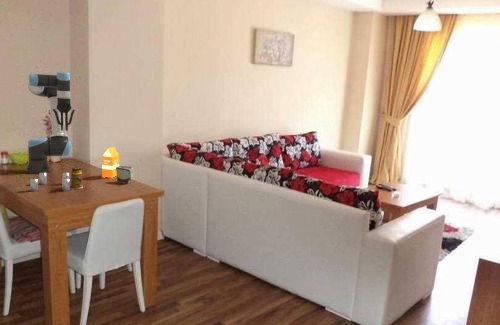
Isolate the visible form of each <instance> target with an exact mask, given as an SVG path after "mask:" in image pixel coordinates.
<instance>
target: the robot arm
mask: <svg viewBox="0 0 500 325" xmlns="http://www.w3.org/2000/svg"><path fill="white" fill-rule="evenodd" d="M27 87H28V91H29V92H30V93H31V94H32V95H35V96H38V97H42V98H47V101H49V103H50V105H49V106H50V119H51V135H50V137H49V139H48V138H47V137H46V136H44V137H42V136H41V137H34V138H33V137H32V138H30V139H29V140H28V141H27V151H28V154H27V155H28V162H27V163H26V164H27V165H26V168H25V173H28V174H35V175H36V174H38V175H39V173H41V172H46V173H47V174H48V173H51V170H52V169H51V166H50V164H49V161H48V157H65V156H69V155H70V153H71V144H72V143H71V139H70V138H69V136H68V135H67V131H69V126H70V125H72V123H73V122H72V121H73V117H74V113H75V111H76V109H75V108H72V102H71V74H70V73H69V72H63V71H62V72H61V71H59V72H56V74H45V73H43V74H42V73H30V74H28V85H27ZM69 112H71V113H70V117H68V116H69V114H68V113H69Z"/></svg>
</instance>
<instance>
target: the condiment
mask: <svg viewBox="0 0 500 325" xmlns="http://www.w3.org/2000/svg"><path fill="white" fill-rule="evenodd" d="M70 174H71V175H70V176H71V177H70V181H71V182H70V183H71V184H70V190H71V189H83V188H84V187H83V172H82V167H77V166H76V167H72V168H71V172H70Z"/></svg>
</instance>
